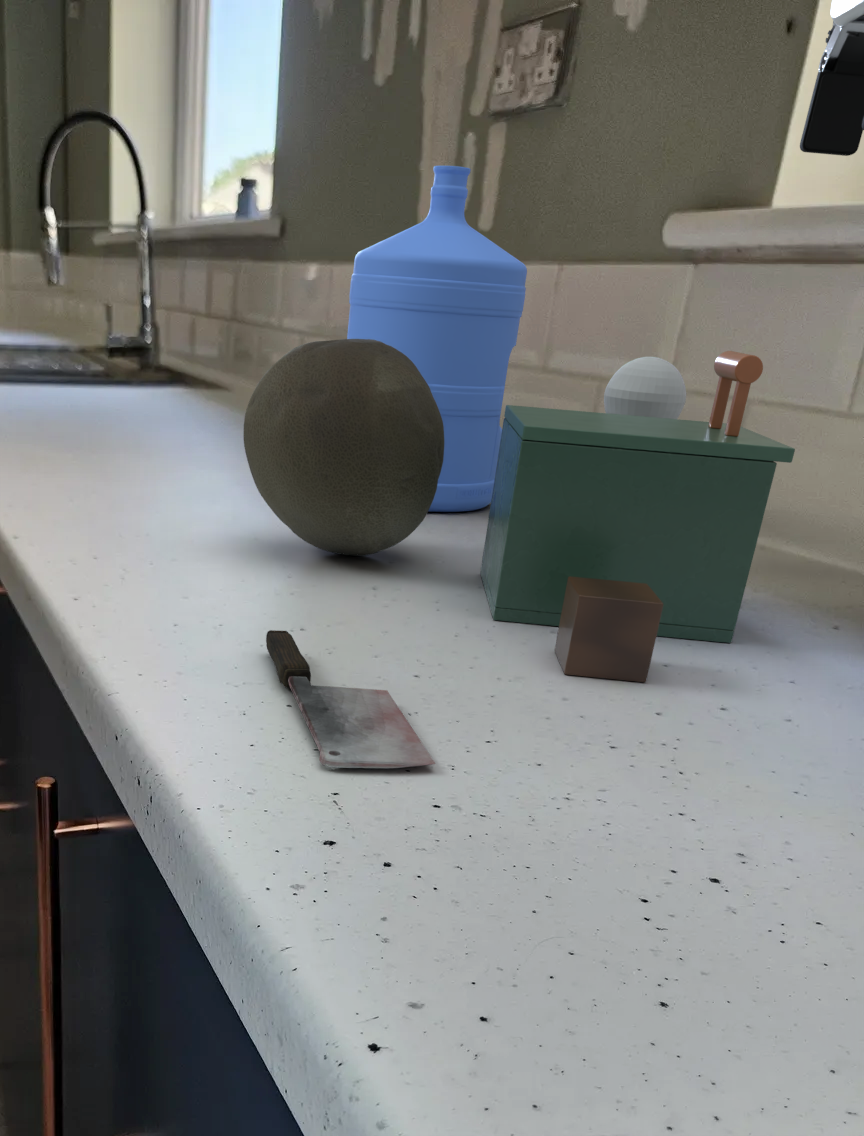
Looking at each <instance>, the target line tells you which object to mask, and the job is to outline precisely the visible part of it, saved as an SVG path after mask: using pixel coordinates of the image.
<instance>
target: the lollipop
mask: <svg viewBox="0 0 864 1136" xmlns="http://www.w3.org/2000/svg"><path fill="white" fill-rule="evenodd" d="M686 400H687V389H686V383H685V380H684V378H683V376H682V374H681V372H680V371H679V369H678V368H677V367H676V366H675V365H674V364H673V363H671V362H669V361H668V360H666V359H664V358H662V357H657V356H642V357H638V358H633V360H630V361H628V362H626V363H625V364H623V365H621V367H619V369H618V370H616V371H615V372H614V374H613V375H612V377H611V378H610V379H609V381H608V383H607V385H606V387H605V390H604V393H603V404H604V405H603V406H604V413H608V414H620V415H632V416H644V417H656V418H668V419H679V417H680V415H681V414H682V412H683V410H684V407H685V405H686Z"/></svg>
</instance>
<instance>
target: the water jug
mask: <svg viewBox="0 0 864 1136" xmlns="http://www.w3.org/2000/svg"><path fill="white" fill-rule="evenodd" d="M471 170H472V169H471V168H470V167H467V166H466V167H465V166H459V165H434V166H433V169H432V171H433V173H434V177H433V185H432V187H431V188H430V205H429V211H428V213H427V216H426V217H425V218H424V219H423V220H422V221H421V222H419V223H417V224H415V225H413V226H411V227H409V228H406V229H404V230H402V231H400V232H398V233H396V234H394V235H392V236H390V237H387V238H386V239H383V240H381V241H378V242H377V243H375V244H373V245H369V247H366V248H364V249H362V250H360V251H358V252H357V254H355V257H354V260H353V261H354V262H353V273H352V274H351V279H350V286H349V295H348V296H349V300H348V302H349V312H348V313H349V315H348V324H347V335H346V339H372V340H377V341H381V342H383V343H385V344H386V345H389V346H392V347H393V348H395V349H397V350H398V351H400V352H402V353H403V354H404V355H406V356H407V357H408V358H409V359H410V360H411V361H412V362H413V363H414V365H415V366H416V367H417V369H418V370H419V372H420V373H421V375H422V377H423V378H424V379H425V381H426V382H427V384H428V386H429V388H430V390H431V393H432V395H433V397H434V400H435V401H436V404H437V406H438V409H439V412H440V414H441V417H442V421H443V426H444V458H443V464H442V469H441V473H440V476H439V479H438V484H437V490H436V493H435V496H434V499H433V501H432V504H431V506H430V508H429V510H428V512H429V513H461V512H462V513H463V512H472V511H477V510H480V509H483V508H485V507H487V506H488V505H491V499H492V493H493V486H494V480H495V473H496V467H497V460H498V454H499V447H500V441H501V434H502V428H503V427H501V426H500V425H501V423H500V422H501V414H502V407H503V401H504V396H505V395H504V394H505V387H506V381H507V374H508V369H509V361H510V357H511V353H512V350H513V348H515V346H517V341H518V334H519V329H520V328H519V327H520V320H521V317H522V316H523V311H524V307H525V300H526V291H527V288H526V281H527V275H528V274H527V273H528V268H527V265H526V264H525V263H524V262H522V261H520V260H519V259H518V258H516V257H515V256H514V255H512V254H510V253H509V252H508V251H506V250H505V249H503V248H502V247H501V246H499V245H498V244H496V243H495V242H493V241H492V240H490V239H489V238H488V237H487V236H485V235H483V234H482V233H480V232H479V231H477V230H476V229H475V228H473V227H472V226H470V225H469V223H468V222H467V220H466V216H465V209H466V202H467V199H468V194H469V190H468V188H467V187H468V186H467V185H468V179H469V178H468V177H469V176H470V174H471Z"/></svg>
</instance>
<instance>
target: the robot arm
mask: <svg viewBox="0 0 864 1136" xmlns="http://www.w3.org/2000/svg"><path fill="white" fill-rule="evenodd" d="M829 15H830V17H831V19H832V27H831V29H830V30H828V32H827V35H828V36H827V37H825V43H826V45H825V48H824V51H823V53H822V56H821V58H820V61H819V65H818V72H817V75H816V78H815V83H814V87H813V91H812V95H811V99H810V102H809V106H808V109H807V110H808V111H807V113H806V118H805V122H804V127H803V130H802V134H801V137H800V143H799V149H800V151H801V152H803V153H810V154H822V155H832V156H843V157H848V156H852V155H854V154H855V153H857V152H858V149H859V147H860V143H861V139H862V136H863V132H864V0H831V5H830V11H829Z"/></svg>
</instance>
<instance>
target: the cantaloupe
mask: <svg viewBox="0 0 864 1136" xmlns="http://www.w3.org/2000/svg"><path fill="white" fill-rule="evenodd" d="M243 420H244V421H243V448H244V453H245V455H246V460H247V464H248V467H249V471H250V474H251V477H252V479H253V482H254V485H255V487H256V489H257V491H258V493H259V495H261V498H262V499H263V500H264V502H265V503H266V505H267V506H268V507H269V509H270V510H271V511H272V512H273V514H274V515H275V516H276V517H277V518H278V519H279V520H280V521H281V522H282V523H283V524H284V525H285V526H286V527H287V528H288V529H290V531H291V532H292V533H293V534H294V535H296V537H298V538H300V540H302V541H304V542H306V543H307V544H309V545H311V546H312V547H315V548H317V549H318V550H322V551H326V552H329V553H333V554H338V555H343V556H354V557H355V556H356V557H357V556H358V557H363V556H369V555H372V554H376V553H379V552H381V551H385V550H387V549H390V548H392V547H394V546H396V545H398V544H399V543H401V542H403V541H404V540H406V539H407V538H408V537H410V536H411V535H412V533H414V532H415V531H416V529H418V527H419V526H420V525H421V524H422V522H423V521H424V520H425V518H426V516H427V514H428V510H429V508H430V506H431V504H432V501H433V499H434V496H435V493H436V490H437V484H438V479H439V476H440V473H441V469H442V464H443V458H444V426H443V421H442V417H441V414H440V412H439V409H438V406H437V404H436V401H435V400H434V397H433V395H432V393H431V390H430V388H429V386H428V384H427V382H426V381H425V379H424V378H423V377H422V375H421V373H420V372H419V370H418V369H417V367H416V366H415V365H414V363H413V362H412V361H411V360H410V359H409V358H408V357H407V356H406V355H404V354H403V353H402V352H400V351H398V350H397V349H395V348H393V347H392V346H389V345H386V344H385V343H383V342H381V341H377V340H372V339H347V338H342V339H330V340H316V341H309V342H307V343H303V344H300V345H298V346H296V347H293V348H292V349H291V350H289V351H288V352H287V353H286V354H284V355H283V356H281V357H280V358H279V359H278V360H277V361H276V362H275V363H274V364H273V365H272V366H271V367H270V368H269V369H268V370H267V371H266V372H265V373H264V375H263V376H262V377H261V378H260V380H259V381H258V382H257V385H256V386H255V388H254V390H253V391H252V394H251V396H250V399H249V402H248V404H247V407H246V410H245V414H244V419H243Z"/></svg>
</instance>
